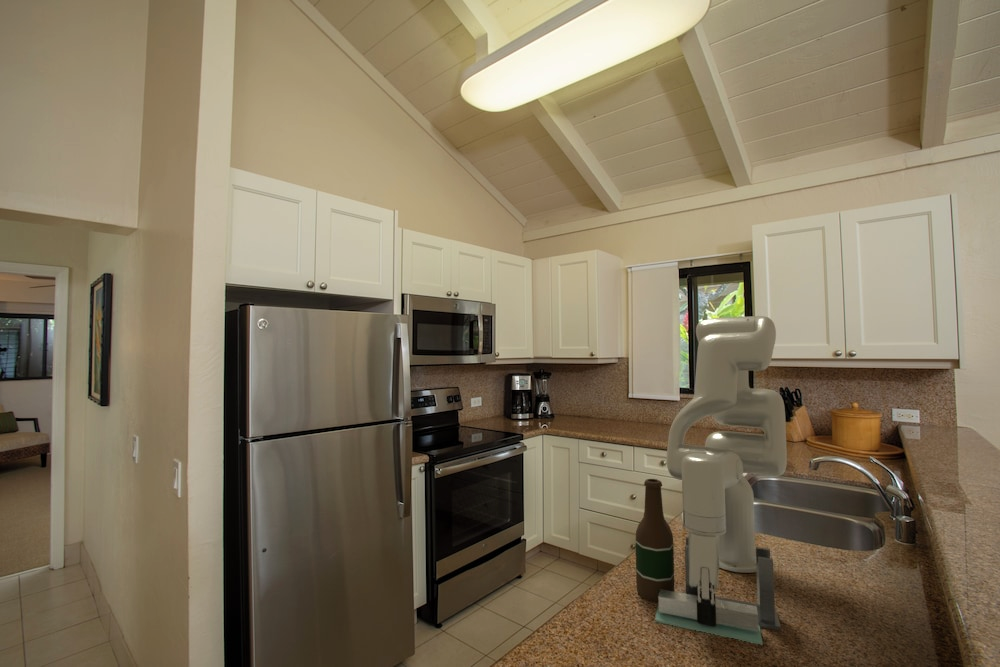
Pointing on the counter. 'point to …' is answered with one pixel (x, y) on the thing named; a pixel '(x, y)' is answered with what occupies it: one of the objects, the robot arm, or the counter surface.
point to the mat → (709, 627)
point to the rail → (725, 610)
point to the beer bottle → (654, 546)
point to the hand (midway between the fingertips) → (706, 617)
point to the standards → (764, 588)
